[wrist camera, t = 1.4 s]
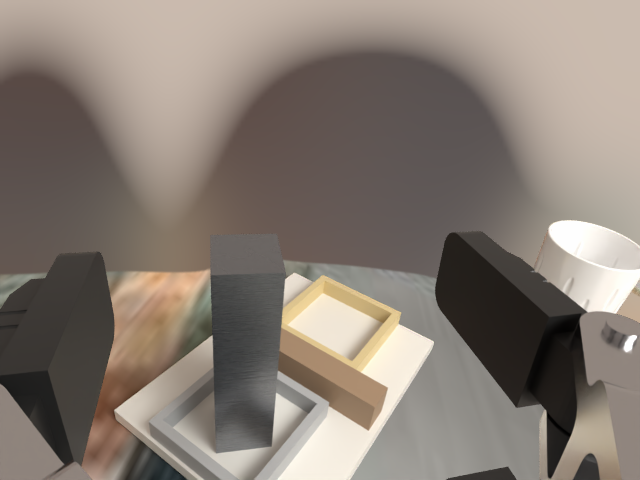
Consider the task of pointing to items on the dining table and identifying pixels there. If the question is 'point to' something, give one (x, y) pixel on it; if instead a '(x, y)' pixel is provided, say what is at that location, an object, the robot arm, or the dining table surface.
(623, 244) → the white cup
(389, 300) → the dining table surface
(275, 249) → the bar
